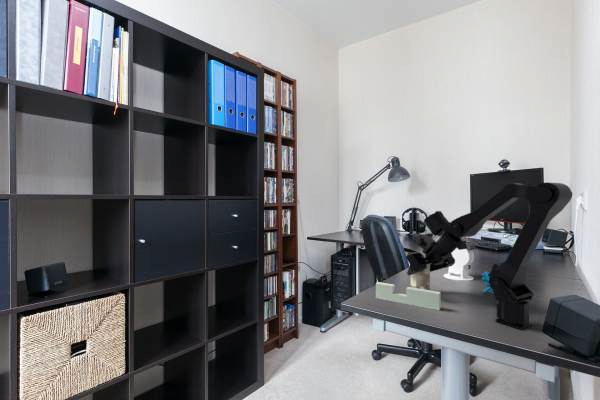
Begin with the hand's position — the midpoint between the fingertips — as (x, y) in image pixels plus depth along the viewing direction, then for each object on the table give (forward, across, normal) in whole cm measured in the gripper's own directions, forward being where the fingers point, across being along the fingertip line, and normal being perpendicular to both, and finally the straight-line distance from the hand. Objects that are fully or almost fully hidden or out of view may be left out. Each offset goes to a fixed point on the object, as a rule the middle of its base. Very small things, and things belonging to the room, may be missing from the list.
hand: (417, 272), depth 113 cm
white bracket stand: (+9, -32, +1) cm, 33 cm away
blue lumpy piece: (-6, -21, +16) cm, 27 cm away
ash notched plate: (+4, 0, +6) cm, 7 cm away
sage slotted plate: (0, +13, +10) cm, 16 cm away
